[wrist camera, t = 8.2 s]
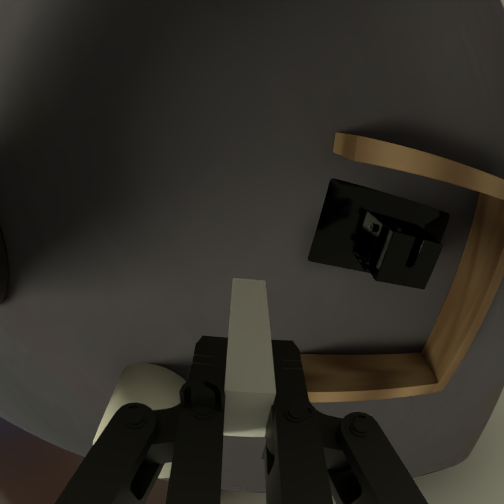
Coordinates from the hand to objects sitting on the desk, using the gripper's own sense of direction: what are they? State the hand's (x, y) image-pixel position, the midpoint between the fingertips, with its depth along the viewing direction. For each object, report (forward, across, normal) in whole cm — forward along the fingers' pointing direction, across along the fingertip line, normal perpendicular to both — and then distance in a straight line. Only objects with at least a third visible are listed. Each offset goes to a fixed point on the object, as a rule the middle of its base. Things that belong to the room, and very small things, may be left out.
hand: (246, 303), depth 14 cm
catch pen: (+5, +10, 0) cm, 11 cm away
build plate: (+6, +9, +2) cm, 11 cm away
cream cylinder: (+5, -7, -14) cm, 17 cm away
